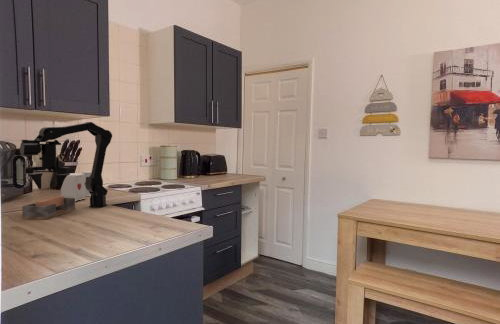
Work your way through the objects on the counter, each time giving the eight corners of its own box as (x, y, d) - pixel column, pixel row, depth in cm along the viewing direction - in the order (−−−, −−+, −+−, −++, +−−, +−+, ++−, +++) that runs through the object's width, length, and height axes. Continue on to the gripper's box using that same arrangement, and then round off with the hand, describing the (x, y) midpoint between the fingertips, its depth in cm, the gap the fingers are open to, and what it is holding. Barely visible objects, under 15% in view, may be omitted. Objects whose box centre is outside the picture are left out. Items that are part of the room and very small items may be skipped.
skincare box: (81, 197, 184) (80, 172, 183) (83, 195, 190) (82, 171, 189) (96, 196, 186) (96, 171, 185) (98, 194, 192) (98, 170, 191)
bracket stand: (75, 209, 152) (74, 198, 152) (46, 219, 132) (46, 206, 132) (54, 208, 153) (54, 197, 152) (22, 219, 132) (22, 206, 132)
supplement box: (76, 202, 168) (76, 175, 167) (60, 202, 169) (59, 174, 168) (86, 199, 177) (85, 173, 176) (70, 199, 178) (69, 173, 177)
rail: (56, 204, 149) (56, 195, 149) (64, 204, 149) (63, 196, 149) (35, 210, 135) (35, 201, 135) (43, 210, 135) (43, 201, 135)
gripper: (79, 154, 148) (80, 187, 149) (41, 154, 149) (42, 186, 150) (64, 155, 137) (65, 190, 138) (23, 154, 138) (24, 189, 139)
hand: (49, 189), depth 141 cm, fingers open, 9 cm apart
